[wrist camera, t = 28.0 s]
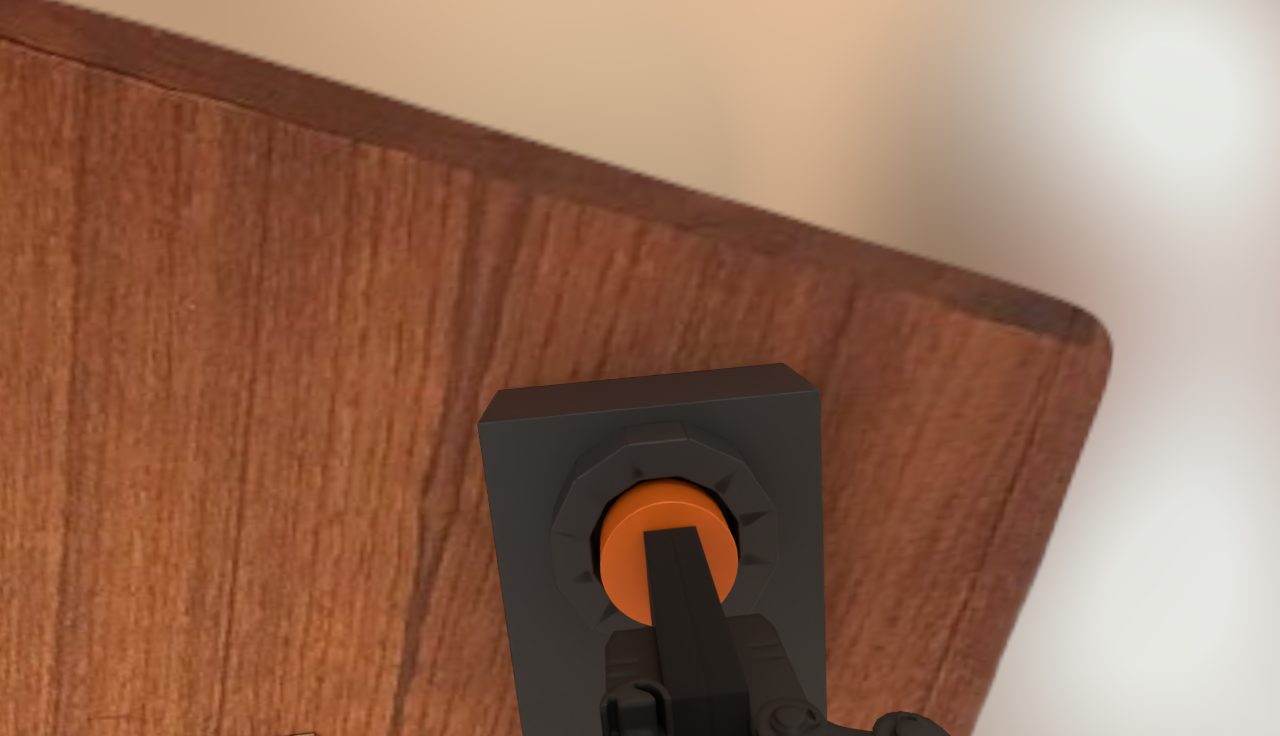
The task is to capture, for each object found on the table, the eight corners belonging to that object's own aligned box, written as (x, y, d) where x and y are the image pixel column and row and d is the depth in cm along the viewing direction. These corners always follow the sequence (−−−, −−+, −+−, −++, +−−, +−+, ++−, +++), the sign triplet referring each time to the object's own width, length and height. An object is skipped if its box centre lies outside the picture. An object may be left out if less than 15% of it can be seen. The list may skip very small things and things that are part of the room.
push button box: (497, 389, 24) (464, 441, 18) (783, 362, 24) (841, 404, 19) (540, 705, 27) (524, 838, 21) (794, 676, 27) (846, 797, 22)
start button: (593, 484, 19) (593, 509, 18) (723, 471, 20) (734, 494, 18) (606, 600, 20) (607, 635, 19) (729, 587, 20) (741, 619, 19)
